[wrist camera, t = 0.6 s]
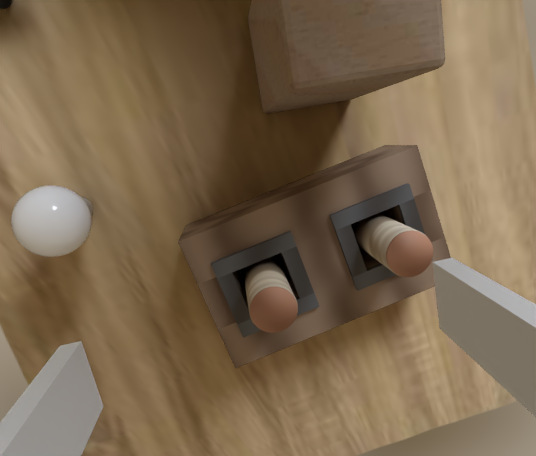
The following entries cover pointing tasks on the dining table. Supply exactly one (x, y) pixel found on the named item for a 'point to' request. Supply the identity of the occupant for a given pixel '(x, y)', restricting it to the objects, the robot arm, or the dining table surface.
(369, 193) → the socket block
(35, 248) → the lightbulb
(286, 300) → the peg
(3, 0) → the toy ball
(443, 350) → the dining table surface
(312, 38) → the wooden block
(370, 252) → the peg
